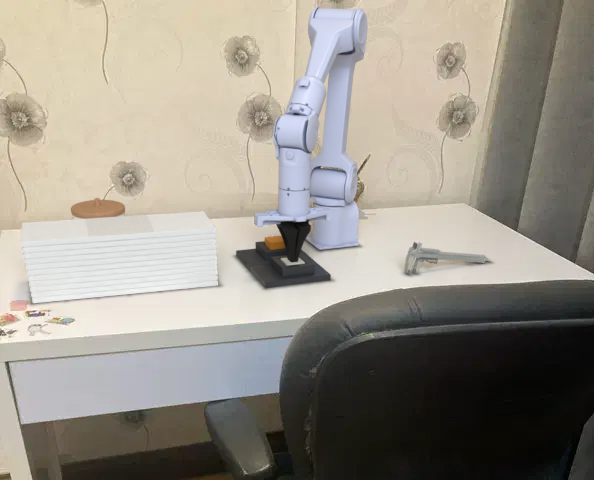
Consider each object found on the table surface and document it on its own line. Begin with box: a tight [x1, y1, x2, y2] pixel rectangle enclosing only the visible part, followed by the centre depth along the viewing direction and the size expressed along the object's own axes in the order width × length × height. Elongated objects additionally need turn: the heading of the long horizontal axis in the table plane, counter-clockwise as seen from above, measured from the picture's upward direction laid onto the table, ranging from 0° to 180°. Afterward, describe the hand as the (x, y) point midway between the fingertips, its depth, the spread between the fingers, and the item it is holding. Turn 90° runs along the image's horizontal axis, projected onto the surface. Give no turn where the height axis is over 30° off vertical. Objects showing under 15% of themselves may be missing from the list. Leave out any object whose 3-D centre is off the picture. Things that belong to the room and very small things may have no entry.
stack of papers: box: [20, 210, 219, 304], centre depth 118 cm, size 32×11×11 cm, turn 108°
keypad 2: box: [249, 254, 332, 289], centre depth 125 cm, size 13×9×3 cm
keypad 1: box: [235, 240, 313, 272], centre depth 132 cm, size 13×9×3 cm
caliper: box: [404, 241, 491, 275], centre depth 130 cm, size 20×1×6 cm, turn 116°
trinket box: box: [70, 197, 126, 220], centre depth 137 cm, size 11×11×9 cm
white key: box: [281, 258, 305, 266], centre depth 125 cm, size 4×4×2 cm
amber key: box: [264, 235, 285, 250], centre depth 132 cm, size 4×4×2 cm
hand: (292, 260), depth 124 cm, fingers closed, pressing on white key
